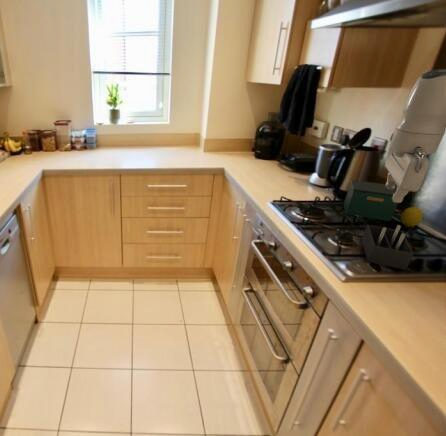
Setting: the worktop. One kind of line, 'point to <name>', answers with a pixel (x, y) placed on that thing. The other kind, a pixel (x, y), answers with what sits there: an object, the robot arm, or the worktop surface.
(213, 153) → the worktop surface
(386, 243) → the cutlery holder
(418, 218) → the lemon
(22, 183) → the worktop surface
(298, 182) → the worktop surface
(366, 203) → the bread bin
